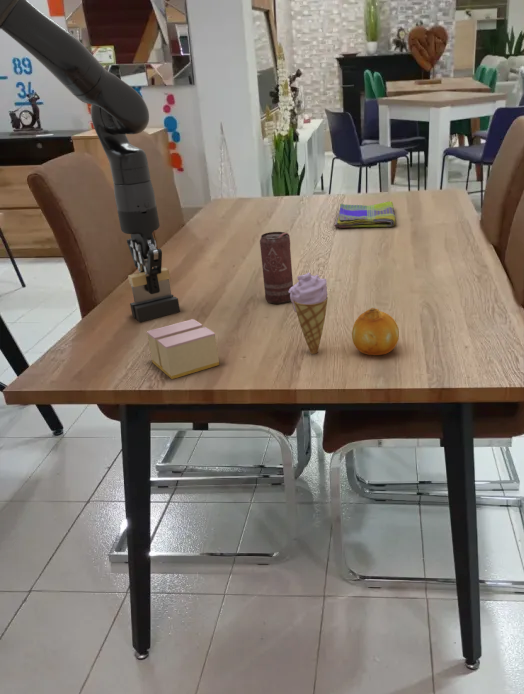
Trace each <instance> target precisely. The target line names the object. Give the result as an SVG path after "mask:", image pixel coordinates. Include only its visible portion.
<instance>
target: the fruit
mask: <svg viewBox="0 0 524 694" xmlns="http://www.w3.org/2000/svg"><path fill="white" fill-rule="evenodd" d="M399 330H400V329H399V326H398V323H397V322H396V320H395V319H394V318H393V317H392V316H391V315H389V313H387V312H384V311H381V310H379V309H378V308H375V307H372V308H369V309H367V310H366V311H364V312H363V313H361V314H359V316H358V317H357V318H356V319H355V321H354V323H353V326H352V330H351V340H352V343H353V345H354V347H355V349H357V350H358V351H359V352H360V353H362V354H365V355H368V356H383V355H386V354H389V353H390V352H392V351H393V350H394V349H395V347H396V346H397V344H398V342H399V338H400V331H399Z"/></svg>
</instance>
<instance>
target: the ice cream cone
mask: <svg viewBox="0 0 524 694" xmlns="http://www.w3.org/2000/svg"><path fill="white" fill-rule="evenodd" d="M296 278H297V280H298V281H297V282H296V283H295V284H293V286H292V287H291V288H290V289H289V291H288V292H289V293H291V294H290V299H291V301H290V302H291V303H292V306H293V311H294V312H295V313H296V317H297V319H298V322H299V326H300V329H301V332H302V334H303V337H304V340H305V343H306V346H307V348H308V351H309V353H310V354H311V355H316V354H318V353H319V349H320V344H321V339H322V335H323V330H324V325H325V320H326V314H327V307H328V287H327V286H328V285H327V283H328V281H327V279H326V278H321V277H319V274H316V275H313V274H311V272H309V271H308V272H306V273H305V274H300V275H297V277H296Z"/></svg>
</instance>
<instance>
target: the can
mask: <svg viewBox="0 0 524 694" xmlns="http://www.w3.org/2000/svg"><path fill="white" fill-rule="evenodd" d="M290 236H291V235H290V234H289V233H288V232H284V231H269V232H265V233H263V234H261V236H260V239H259V247H260V257H261V266H262V276H263V286H264V299H265V300H266V301H267V303H269V304H273V305H284V304H287V303H290V302H292V301H291V299H290V294H291V293H289V292H288V291H289V289H290V288H291V287H292V286H294V280H293V279H294V278H293V268H292V255H291V253H292V252H291V237H290Z"/></svg>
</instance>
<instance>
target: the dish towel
mask: <svg viewBox="0 0 524 694" xmlns="http://www.w3.org/2000/svg"><path fill="white" fill-rule="evenodd" d="M395 225H396V215H395V207H394V203H393V201H385V202H379V203H375V204H370V205H364V204H345V203H339V212H338V215H337V218H336V221H335V223H334V227H338V228H339V229H347V228H348V229H349V228H351V229H352V228H392V227H394V226H395Z"/></svg>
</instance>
